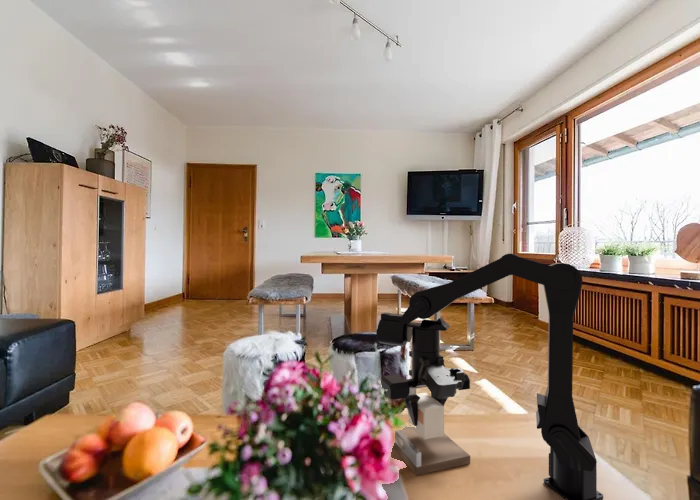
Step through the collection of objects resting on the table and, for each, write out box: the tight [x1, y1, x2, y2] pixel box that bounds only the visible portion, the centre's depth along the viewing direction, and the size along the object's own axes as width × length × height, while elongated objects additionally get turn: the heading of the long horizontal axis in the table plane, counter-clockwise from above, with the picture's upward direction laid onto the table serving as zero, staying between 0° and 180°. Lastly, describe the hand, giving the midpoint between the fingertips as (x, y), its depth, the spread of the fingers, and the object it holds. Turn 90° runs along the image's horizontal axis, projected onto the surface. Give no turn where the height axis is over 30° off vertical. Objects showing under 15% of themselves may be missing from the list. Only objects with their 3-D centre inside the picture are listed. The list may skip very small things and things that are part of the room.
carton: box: [407, 392, 445, 439], centre depth 72 cm, size 5×7×6 cm, turn 19°
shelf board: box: [392, 426, 471, 476], centre depth 71 cm, size 14×12×4 cm
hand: (425, 423), depth 72 cm, fingers closed on carton, 5 cm apart
